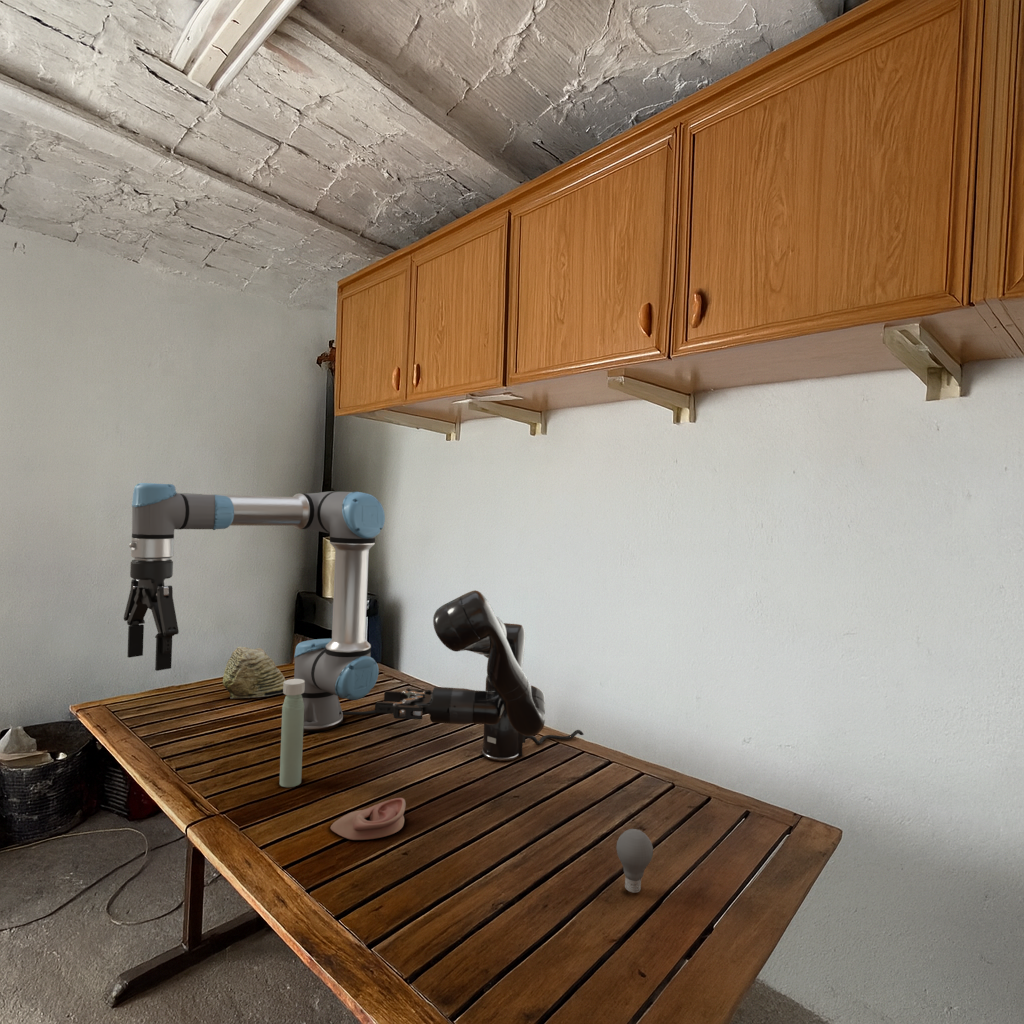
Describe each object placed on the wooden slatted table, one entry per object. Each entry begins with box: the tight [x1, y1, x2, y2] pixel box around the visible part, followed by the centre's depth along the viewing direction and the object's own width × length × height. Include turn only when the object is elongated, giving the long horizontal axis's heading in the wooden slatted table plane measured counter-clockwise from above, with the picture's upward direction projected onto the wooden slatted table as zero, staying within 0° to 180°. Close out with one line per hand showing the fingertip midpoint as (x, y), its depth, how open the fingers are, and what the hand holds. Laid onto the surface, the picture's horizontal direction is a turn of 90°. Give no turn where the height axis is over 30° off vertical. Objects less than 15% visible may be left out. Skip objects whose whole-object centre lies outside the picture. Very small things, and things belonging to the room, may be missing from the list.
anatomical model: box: [330, 797, 407, 841], centre depth 123 cm, size 13×4×12 cm
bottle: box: [278, 694, 304, 788], centre depth 139 cm, size 5×5×22 cm
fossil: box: [222, 646, 286, 699], centre depth 198 cm, size 9×18×15 cm, turn 132°
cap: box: [282, 678, 305, 696], centre depth 139 cm, size 4×4×2 cm
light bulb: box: [615, 828, 654, 894], centre depth 106 cm, size 6×6×10 cm
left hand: (148, 662), depth 129 cm, fingers open, 13 cm apart
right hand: (380, 701), depth 139 cm, fingers open, 8 cm apart
